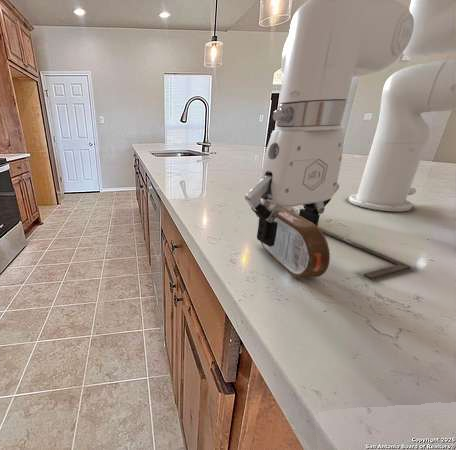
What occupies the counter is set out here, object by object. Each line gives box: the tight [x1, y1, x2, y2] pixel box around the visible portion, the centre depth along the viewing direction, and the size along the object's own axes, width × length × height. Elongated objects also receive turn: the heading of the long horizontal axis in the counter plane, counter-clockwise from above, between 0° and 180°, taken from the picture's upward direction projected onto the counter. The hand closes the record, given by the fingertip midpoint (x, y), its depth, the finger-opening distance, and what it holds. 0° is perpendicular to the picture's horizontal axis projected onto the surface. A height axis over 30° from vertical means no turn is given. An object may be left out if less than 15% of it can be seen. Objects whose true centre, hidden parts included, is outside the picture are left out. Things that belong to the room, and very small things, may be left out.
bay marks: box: [318, 227, 412, 280], centre depth 46 cm, size 8×21×1 cm, turn 17°
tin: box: [260, 207, 331, 279], centre depth 39 cm, size 15×3×8 cm, turn 5°
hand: (285, 237), depth 39 cm, fingers open, 7 cm apart
